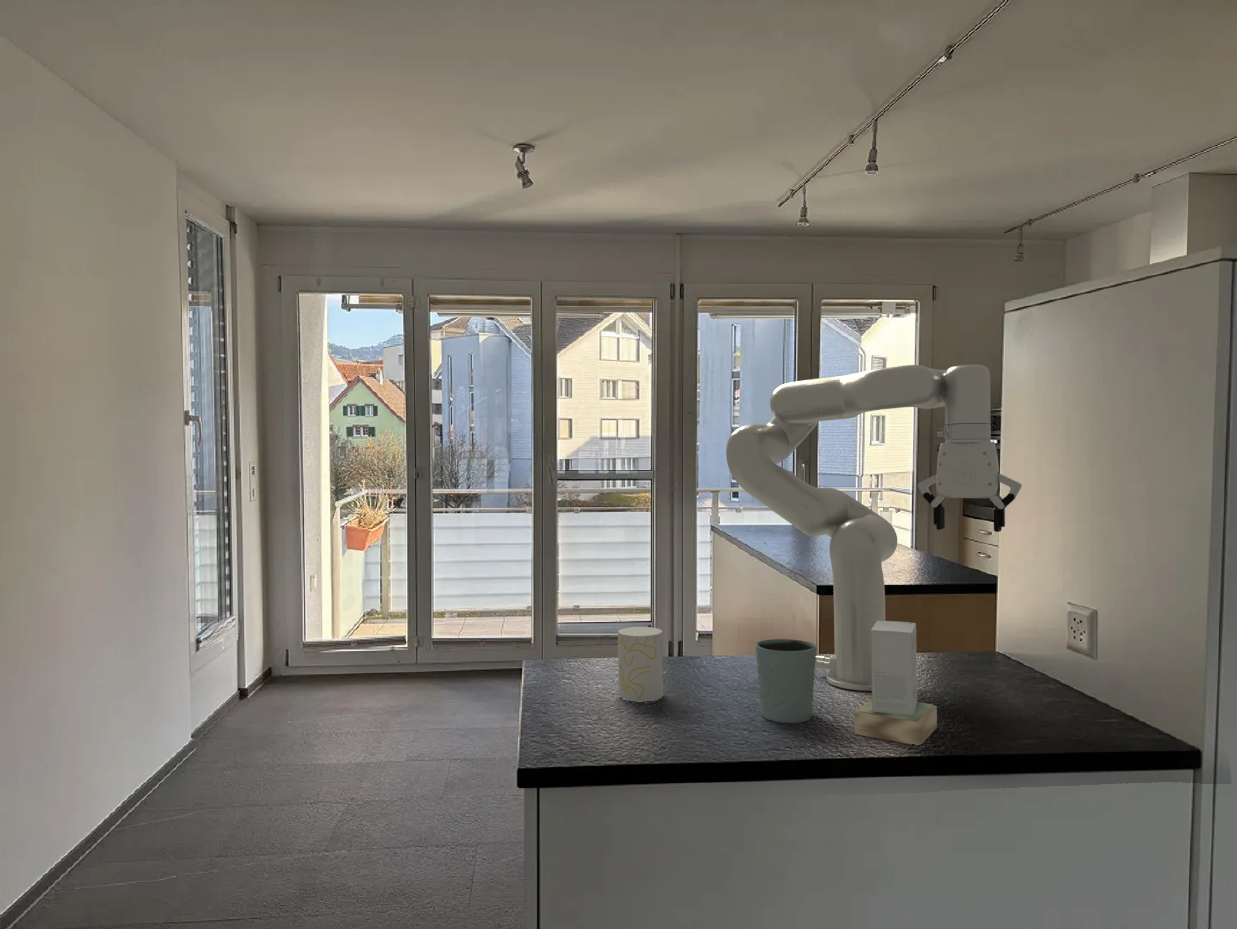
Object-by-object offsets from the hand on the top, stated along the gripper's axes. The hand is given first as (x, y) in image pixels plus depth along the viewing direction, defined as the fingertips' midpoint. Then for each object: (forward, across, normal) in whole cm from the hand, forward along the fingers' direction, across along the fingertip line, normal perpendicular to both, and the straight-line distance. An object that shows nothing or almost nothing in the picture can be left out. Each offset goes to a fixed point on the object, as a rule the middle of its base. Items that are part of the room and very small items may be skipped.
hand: (968, 530), depth 148 cm
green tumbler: (+31, -24, -26) cm, 47 cm away
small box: (+27, -6, -24) cm, 37 cm away
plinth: (+30, -6, -24) cm, 39 cm away
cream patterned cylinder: (+31, -51, -30) cm, 67 cm away
